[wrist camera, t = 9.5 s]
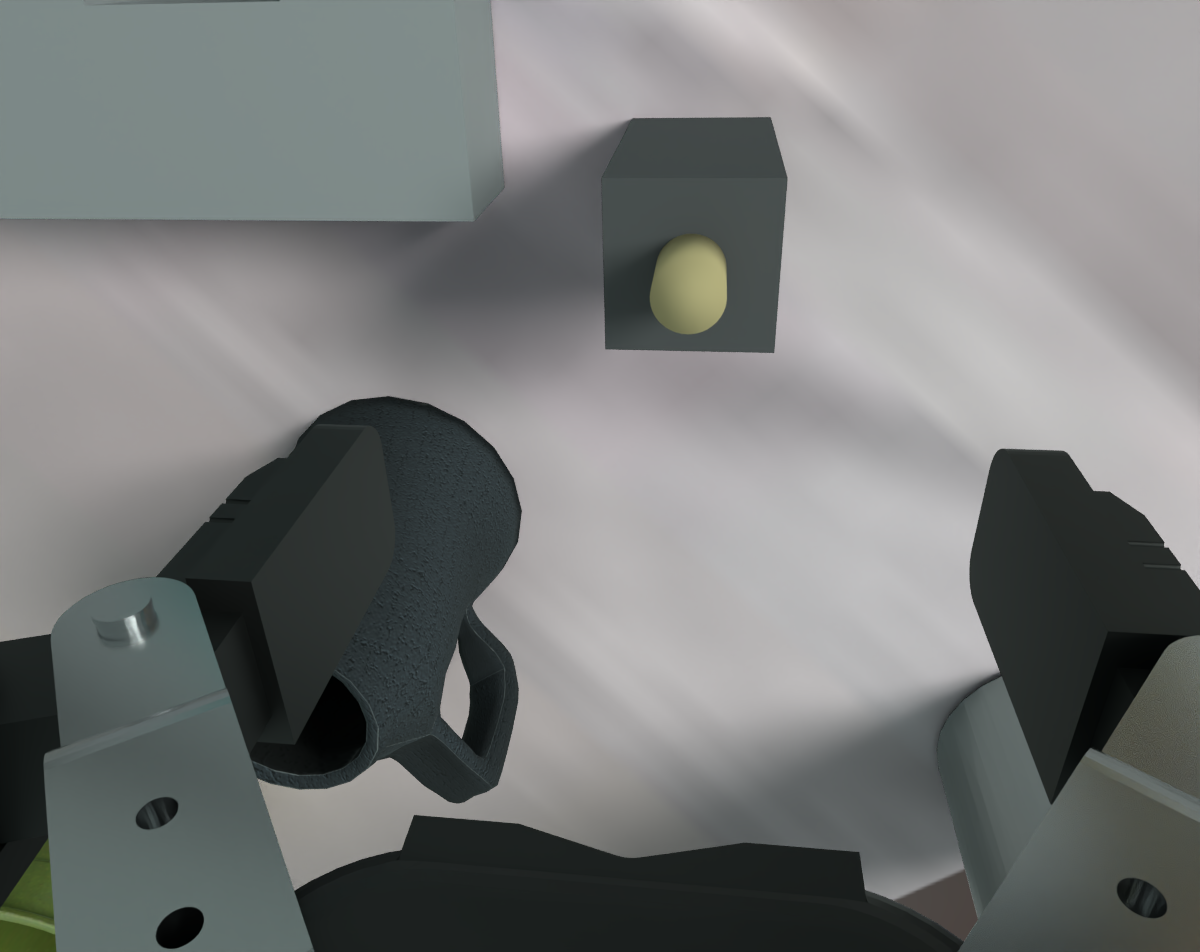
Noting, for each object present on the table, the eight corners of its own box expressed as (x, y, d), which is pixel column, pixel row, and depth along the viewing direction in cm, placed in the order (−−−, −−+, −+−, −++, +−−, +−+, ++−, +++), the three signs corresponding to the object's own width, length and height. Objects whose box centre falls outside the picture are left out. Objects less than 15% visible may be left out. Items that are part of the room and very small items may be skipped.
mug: (239, 473, 35) (55, 675, 25) (410, 349, 31) (271, 529, 22) (443, 677, 39) (352, 918, 29) (614, 588, 35) (574, 827, 26)
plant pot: (16, 718, 44) (-185, 939, 34) (207, 657, 40) (43, 883, 30) (168, 873, 48) (30, 1104, 39) (350, 830, 45) (248, 1073, 35)
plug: (761, 254, 28) (778, 388, 20) (633, 252, 29) (595, 383, 20) (770, 117, 26) (793, 200, 18) (632, 118, 27) (589, 200, 18)
